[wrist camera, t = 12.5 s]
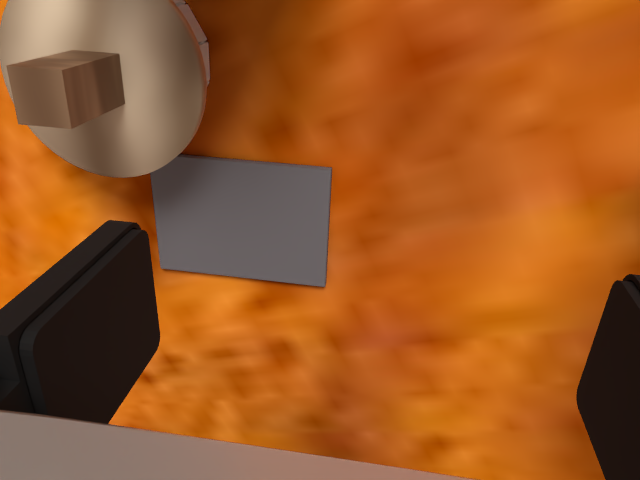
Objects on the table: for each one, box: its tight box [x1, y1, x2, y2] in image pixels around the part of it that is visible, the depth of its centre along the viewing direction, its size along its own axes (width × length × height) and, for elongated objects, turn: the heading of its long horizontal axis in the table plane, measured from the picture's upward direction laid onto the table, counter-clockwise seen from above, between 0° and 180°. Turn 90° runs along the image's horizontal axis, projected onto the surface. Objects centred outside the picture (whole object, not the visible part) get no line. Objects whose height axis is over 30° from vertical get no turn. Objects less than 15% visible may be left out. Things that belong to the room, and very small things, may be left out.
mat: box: [150, 154, 332, 287], centre depth 42 cm, size 14×10×1 cm
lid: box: [0, 0, 207, 178], centre depth 31 cm, size 13×13×7 cm
